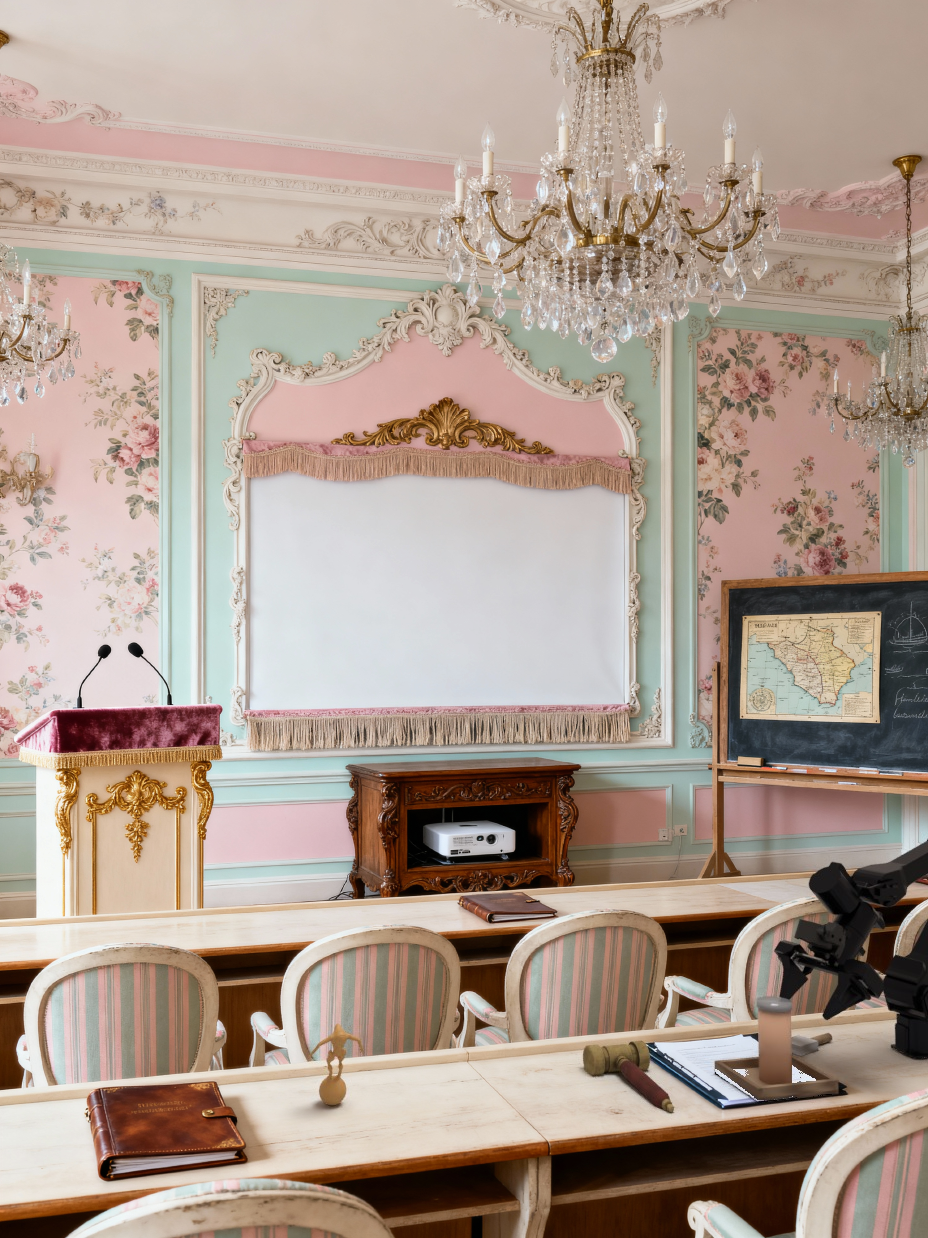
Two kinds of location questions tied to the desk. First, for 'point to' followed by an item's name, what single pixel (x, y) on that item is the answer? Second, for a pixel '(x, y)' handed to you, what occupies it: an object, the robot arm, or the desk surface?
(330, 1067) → the figurine
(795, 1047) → the mallet
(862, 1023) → the desk surface
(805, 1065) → the walnut tray
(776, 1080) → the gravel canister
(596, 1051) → the gavel
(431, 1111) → the desk surface
